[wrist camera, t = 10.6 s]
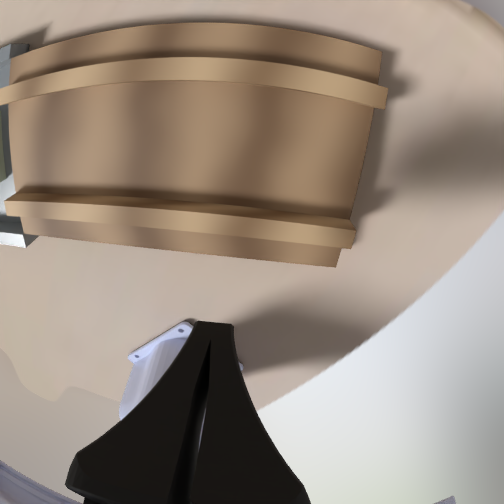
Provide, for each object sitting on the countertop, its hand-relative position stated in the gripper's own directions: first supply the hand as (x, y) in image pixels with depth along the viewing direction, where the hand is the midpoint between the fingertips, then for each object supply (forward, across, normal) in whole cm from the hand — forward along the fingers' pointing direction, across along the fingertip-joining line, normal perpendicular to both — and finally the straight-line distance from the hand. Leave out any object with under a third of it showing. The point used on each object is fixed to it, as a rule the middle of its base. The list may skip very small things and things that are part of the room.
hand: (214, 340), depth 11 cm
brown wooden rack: (+10, +5, -6) cm, 13 cm away
